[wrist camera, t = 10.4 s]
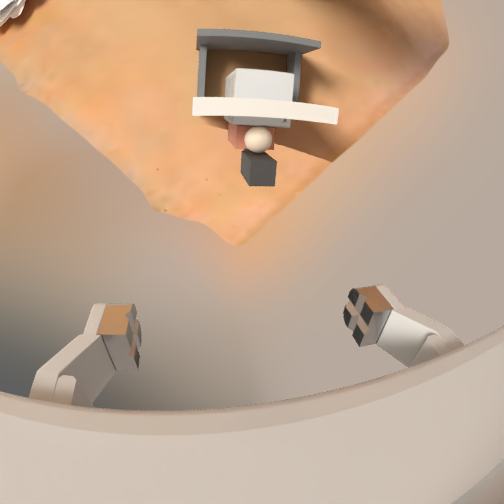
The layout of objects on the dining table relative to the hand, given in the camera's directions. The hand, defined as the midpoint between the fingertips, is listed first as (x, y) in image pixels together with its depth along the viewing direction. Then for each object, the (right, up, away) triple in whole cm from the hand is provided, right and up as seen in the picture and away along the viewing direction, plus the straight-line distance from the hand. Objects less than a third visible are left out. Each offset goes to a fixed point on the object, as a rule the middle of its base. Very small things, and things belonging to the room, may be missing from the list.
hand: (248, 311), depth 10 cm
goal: (-1, +30, +28) cm, 41 cm away
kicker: (-1, +20, +33) cm, 39 cm away
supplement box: (-1, +26, +31) cm, 41 cm away
